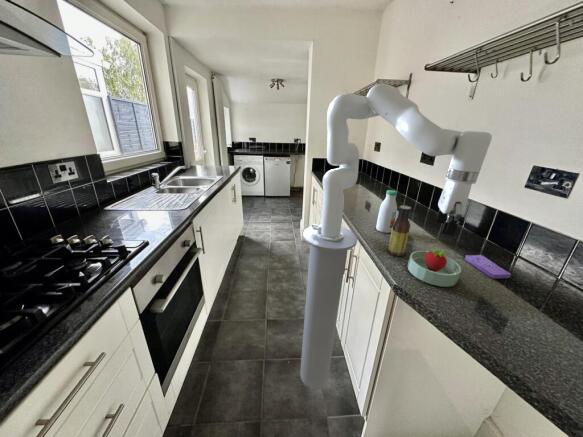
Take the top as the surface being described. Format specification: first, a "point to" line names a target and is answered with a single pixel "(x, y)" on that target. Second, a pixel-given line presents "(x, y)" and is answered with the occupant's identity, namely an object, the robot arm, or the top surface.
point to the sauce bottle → (400, 232)
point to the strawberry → (435, 260)
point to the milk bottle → (387, 212)
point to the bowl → (439, 278)
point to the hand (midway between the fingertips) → (444, 228)
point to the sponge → (487, 266)
